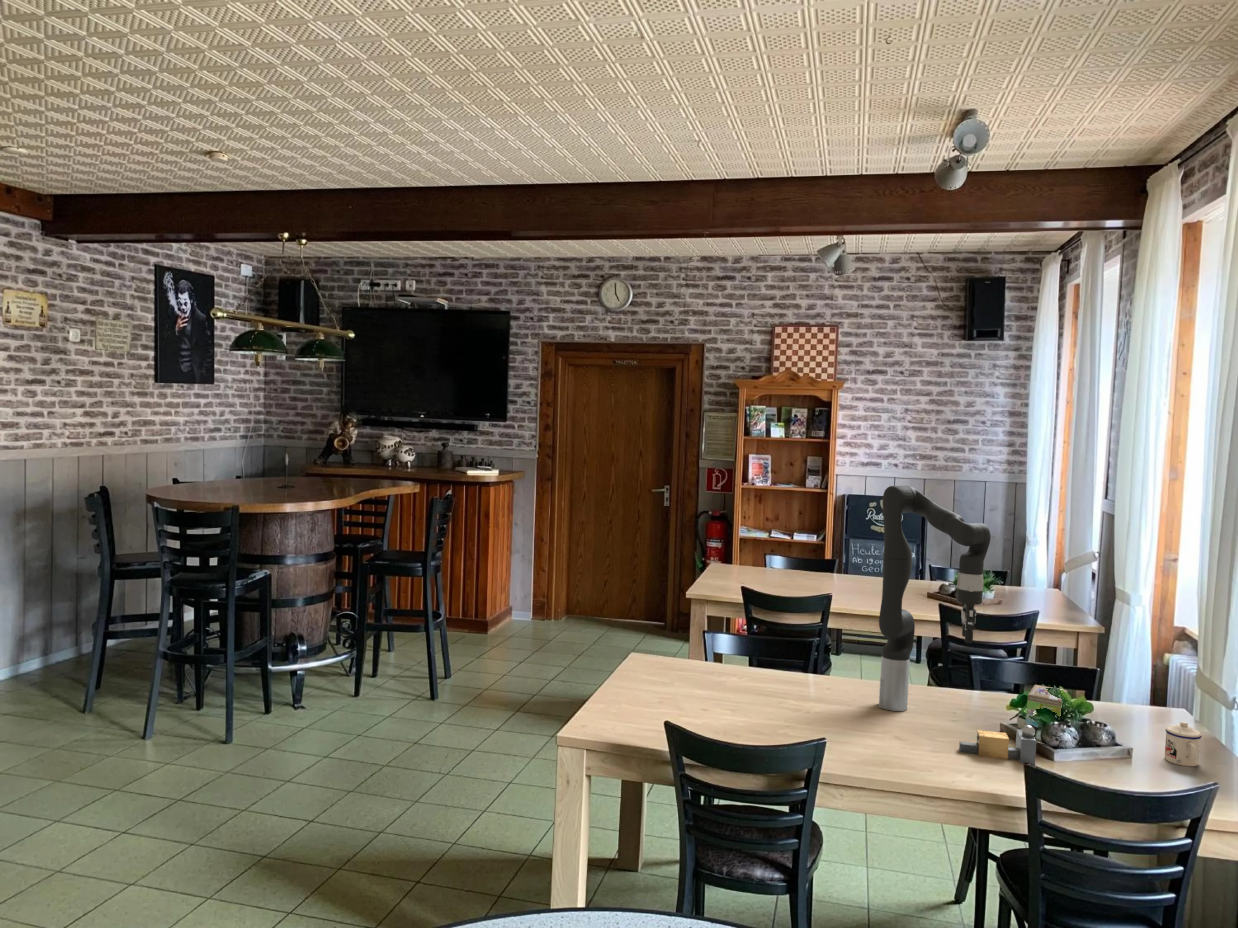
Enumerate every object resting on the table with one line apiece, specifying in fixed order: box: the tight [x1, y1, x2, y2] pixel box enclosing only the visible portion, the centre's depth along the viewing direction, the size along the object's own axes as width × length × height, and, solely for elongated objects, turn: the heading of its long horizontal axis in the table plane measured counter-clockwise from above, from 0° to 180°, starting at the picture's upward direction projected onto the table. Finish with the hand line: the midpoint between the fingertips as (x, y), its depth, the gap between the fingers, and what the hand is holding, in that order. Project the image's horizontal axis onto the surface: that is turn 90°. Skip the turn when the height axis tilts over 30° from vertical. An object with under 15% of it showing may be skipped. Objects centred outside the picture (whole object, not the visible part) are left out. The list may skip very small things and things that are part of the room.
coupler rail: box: [958, 725, 1037, 765], centre depth 274 cm, size 20×9×10 cm, turn 75°
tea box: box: [1024, 684, 1069, 732], centre depth 290 cm, size 15×10×15 cm
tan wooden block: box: [976, 729, 1010, 760], centre depth 274 cm, size 8×6×6 cm
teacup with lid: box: [1164, 721, 1202, 767], centre depth 273 cm, size 12×9×12 cm
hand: (967, 639), depth 289 cm, fingers open, 8 cm apart
